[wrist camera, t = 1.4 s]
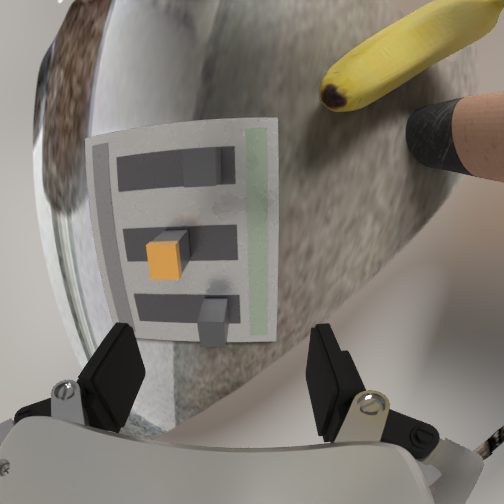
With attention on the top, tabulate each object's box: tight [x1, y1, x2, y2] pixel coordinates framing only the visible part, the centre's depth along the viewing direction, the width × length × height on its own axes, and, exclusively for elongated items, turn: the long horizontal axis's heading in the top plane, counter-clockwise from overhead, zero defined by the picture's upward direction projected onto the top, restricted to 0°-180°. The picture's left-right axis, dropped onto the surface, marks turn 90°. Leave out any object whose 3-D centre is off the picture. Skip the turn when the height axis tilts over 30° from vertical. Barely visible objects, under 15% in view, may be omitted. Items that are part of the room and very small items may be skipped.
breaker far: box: [197, 299, 229, 347], centre depth 27 cm, size 3×2×4 cm
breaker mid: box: [146, 230, 191, 280], centre depth 24 cm, size 3×3×5 cm
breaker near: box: [183, 147, 222, 188], centre depth 22 cm, size 3×2×4 cm
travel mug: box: [406, 92, 504, 182], centre depth 15 cm, size 8×8×20 cm
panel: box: [85, 118, 279, 342], centre depth 28 cm, size 24×20×2 cm
